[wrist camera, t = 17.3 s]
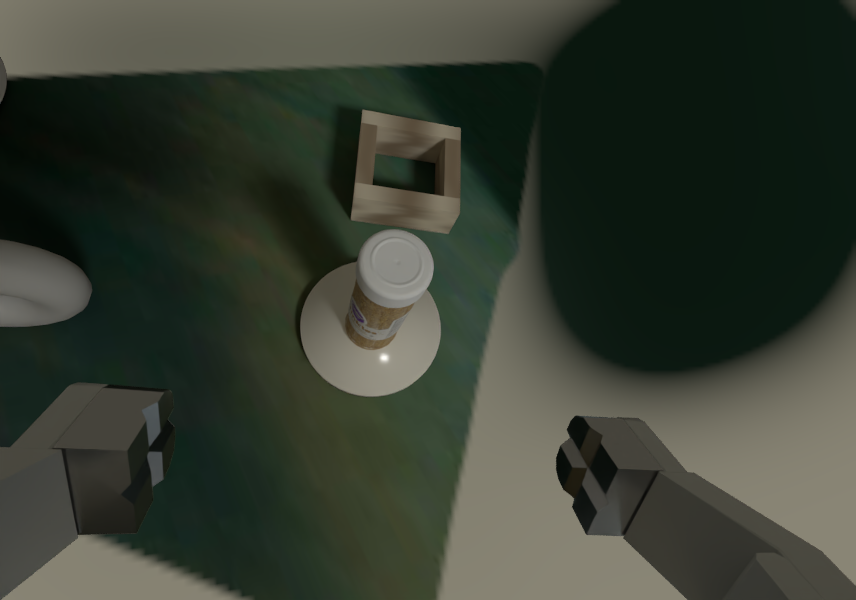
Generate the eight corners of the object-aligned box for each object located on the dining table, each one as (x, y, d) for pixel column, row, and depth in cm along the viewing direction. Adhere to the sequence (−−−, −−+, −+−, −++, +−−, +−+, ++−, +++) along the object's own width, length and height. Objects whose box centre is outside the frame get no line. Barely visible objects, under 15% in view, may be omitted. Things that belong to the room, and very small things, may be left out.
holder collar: (350, 220, 42) (353, 197, 39) (359, 138, 45) (362, 109, 42) (448, 233, 44) (459, 213, 40) (449, 153, 47) (460, 128, 44)
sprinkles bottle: (333, 325, 38) (341, 258, 25) (371, 290, 39) (395, 212, 27) (372, 363, 37) (399, 314, 25) (408, 326, 39) (450, 264, 27)
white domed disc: (291, 392, 36) (290, 390, 35) (309, 256, 40) (309, 253, 39) (437, 401, 38) (439, 400, 38) (439, 272, 42) (442, 269, 42)
